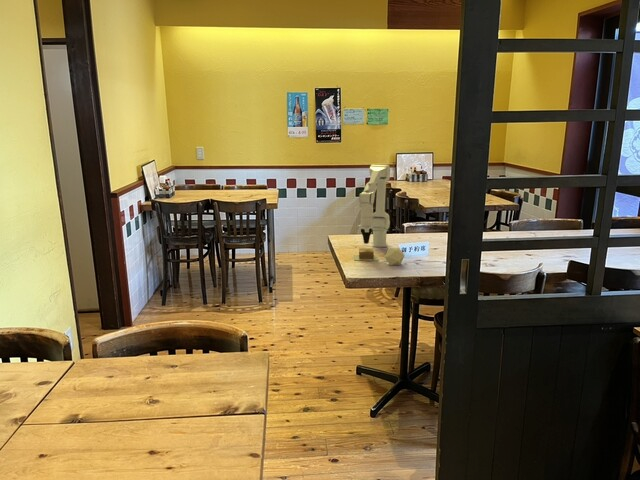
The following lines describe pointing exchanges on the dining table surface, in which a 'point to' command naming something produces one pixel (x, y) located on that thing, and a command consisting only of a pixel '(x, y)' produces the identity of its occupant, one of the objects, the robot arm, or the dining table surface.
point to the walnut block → (366, 253)
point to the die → (394, 256)
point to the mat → (356, 258)
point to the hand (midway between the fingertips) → (366, 243)
